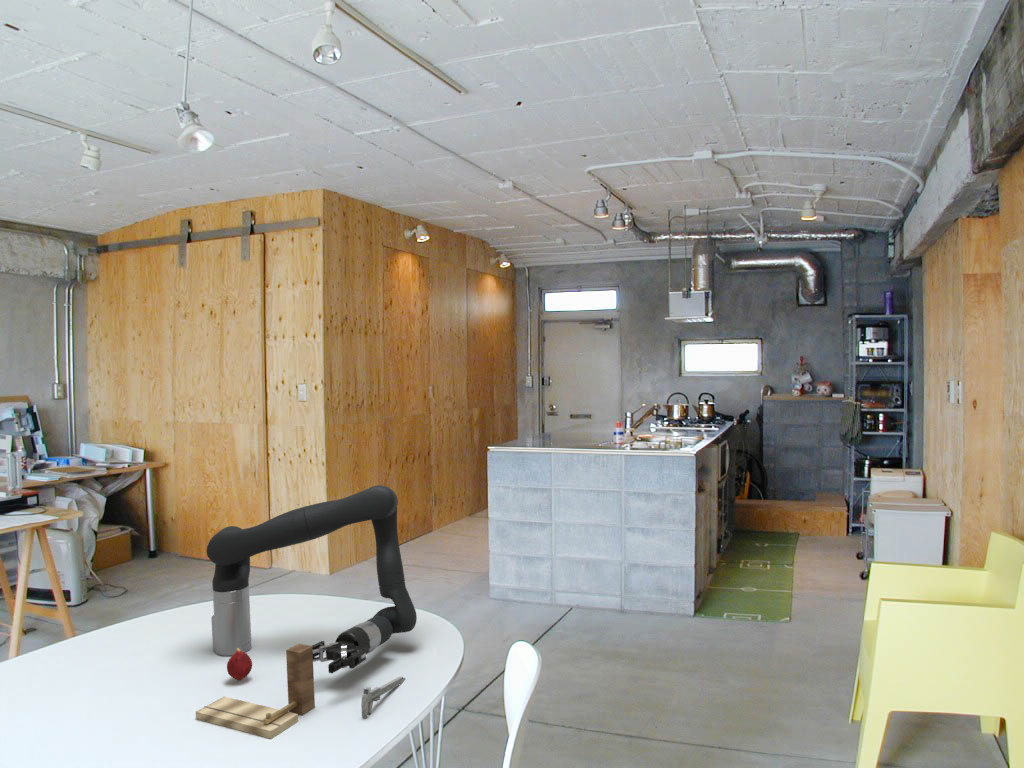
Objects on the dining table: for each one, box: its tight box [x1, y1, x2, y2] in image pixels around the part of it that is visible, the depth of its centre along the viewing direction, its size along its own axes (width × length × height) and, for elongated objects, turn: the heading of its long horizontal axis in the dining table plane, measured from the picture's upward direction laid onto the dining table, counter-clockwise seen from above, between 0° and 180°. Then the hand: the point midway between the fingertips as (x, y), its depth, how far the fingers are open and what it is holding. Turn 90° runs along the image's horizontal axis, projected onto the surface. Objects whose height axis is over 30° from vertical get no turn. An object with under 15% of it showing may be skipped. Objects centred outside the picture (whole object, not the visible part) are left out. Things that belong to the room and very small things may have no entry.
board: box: [195, 696, 299, 739], centre depth 164 cm, size 22×8×2 cm, turn 64°
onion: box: [226, 648, 253, 682], centre depth 184 cm, size 6×6×8 cm
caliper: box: [361, 676, 406, 719], centre depth 173 cm, size 20×1×6 cm, turn 164°
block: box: [263, 643, 316, 724], centre depth 164 cm, size 4×13×14 cm, turn 154°
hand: (315, 666), depth 172 cm, fingers open, 8 cm apart
